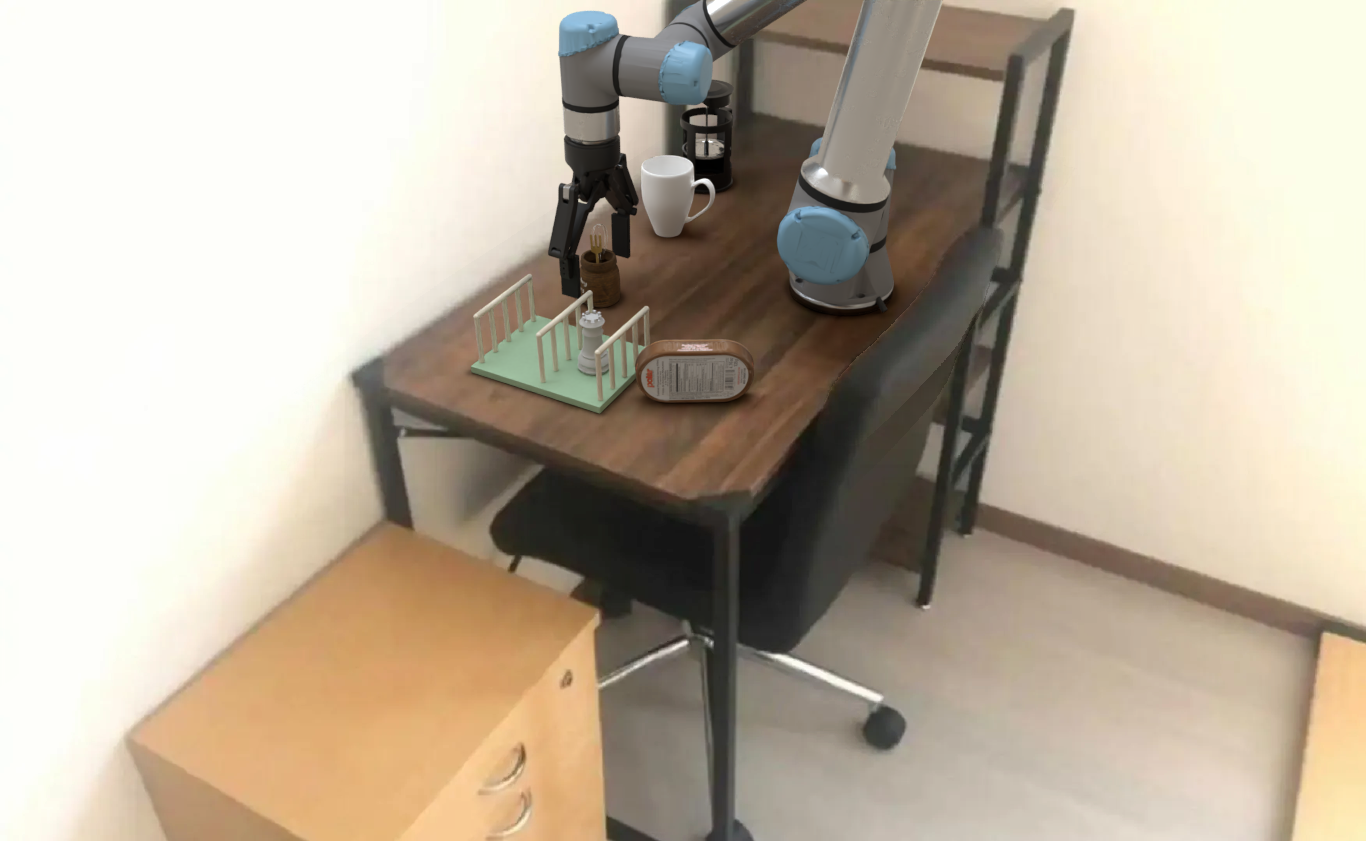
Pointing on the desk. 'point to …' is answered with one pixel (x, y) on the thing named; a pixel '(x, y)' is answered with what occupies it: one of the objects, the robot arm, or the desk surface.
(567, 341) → the drying rack
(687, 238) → the desk surface
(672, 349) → the tin
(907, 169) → the desk surface
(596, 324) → the rook chess piece
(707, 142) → the french press
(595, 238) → the utensil holder
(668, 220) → the mug
